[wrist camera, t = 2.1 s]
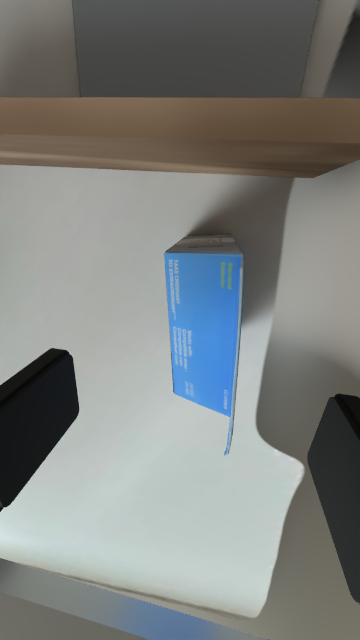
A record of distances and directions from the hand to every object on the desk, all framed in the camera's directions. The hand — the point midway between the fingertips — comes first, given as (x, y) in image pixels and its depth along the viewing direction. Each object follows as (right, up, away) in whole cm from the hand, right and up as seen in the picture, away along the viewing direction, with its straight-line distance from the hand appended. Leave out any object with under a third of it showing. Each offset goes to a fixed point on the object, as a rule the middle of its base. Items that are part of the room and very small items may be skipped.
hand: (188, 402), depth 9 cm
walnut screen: (-4, +15, +9) cm, 18 cm away
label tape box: (+2, +6, +12) cm, 13 cm away
